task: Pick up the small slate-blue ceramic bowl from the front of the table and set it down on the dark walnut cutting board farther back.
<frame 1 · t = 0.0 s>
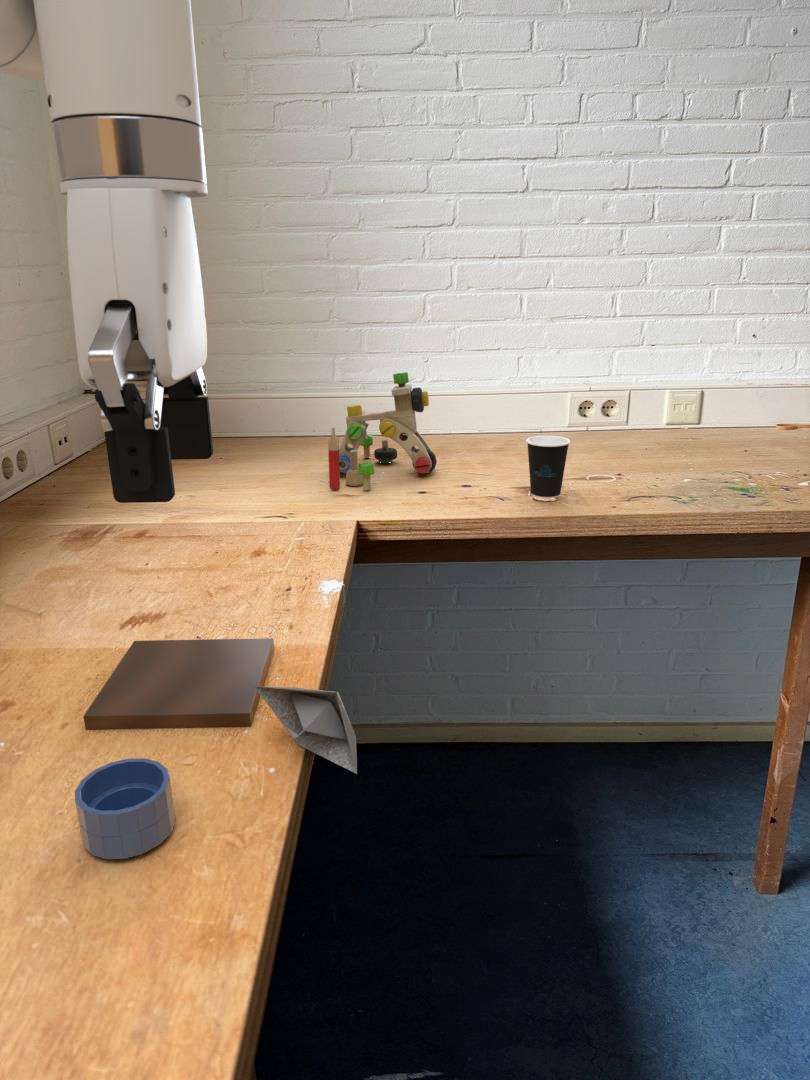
hand: (169, 477, 48), 30 cm above the table, tool pointing down, fingers open, 9 cm apart
dixie cup: (545, 499, 148), on the table
bowl: (130, 833, 63), on the table
paper boat: (309, 751, 74), on the table
toy construction set: (375, 476, 165), on the table
board: (188, 686, 85), on the table
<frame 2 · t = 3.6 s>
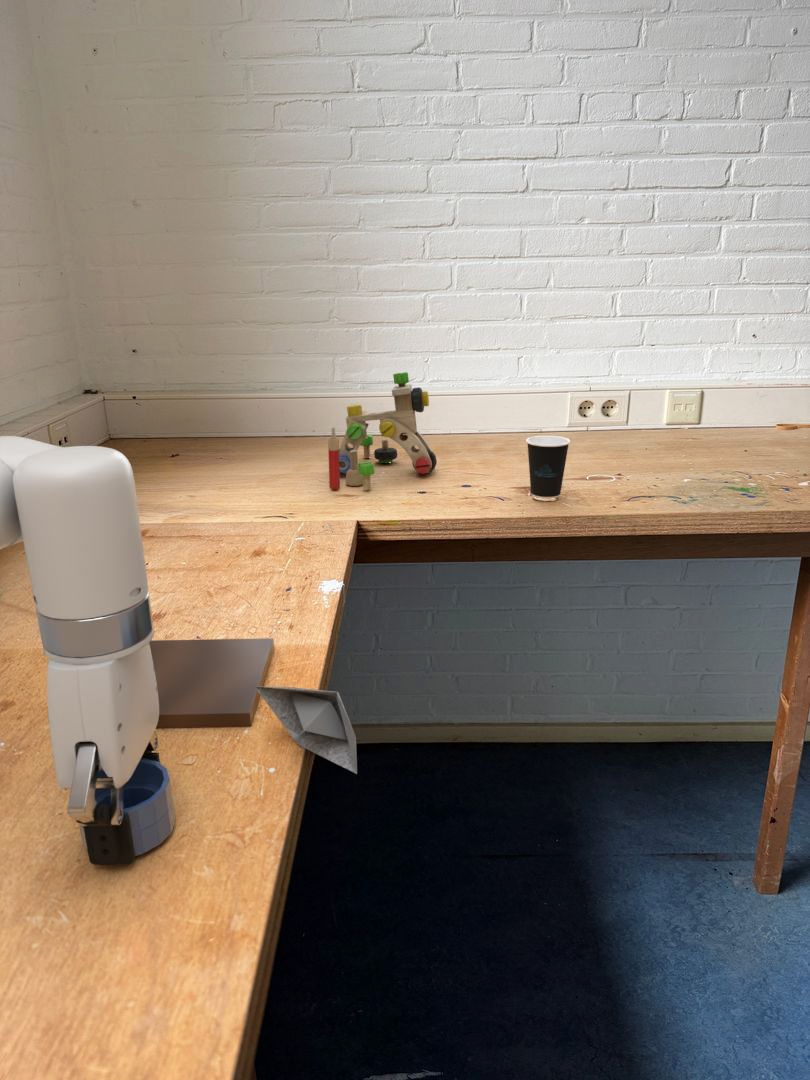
hand: (129, 825, 63), 1 cm above the table, tool pointing down, fingers closed on bowl, 7 cm apart
bowl: (130, 833, 63), on the table, touching gripper
everything else where it was.
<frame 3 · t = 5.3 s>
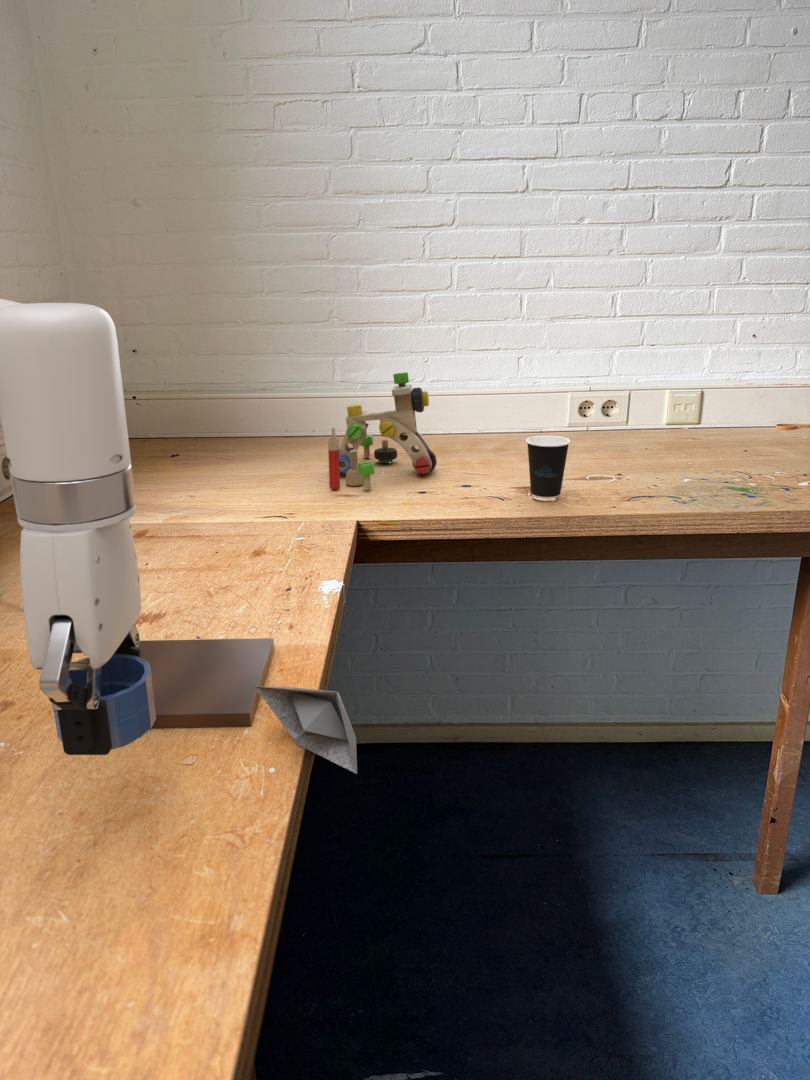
hand: (107, 720, 60), 10 cm above the table, tool pointing down, fingers closed on bowl, 7 cm apart
bowl: (108, 729, 60), point 9 cm above the table, touching gripper
everything else where it was.
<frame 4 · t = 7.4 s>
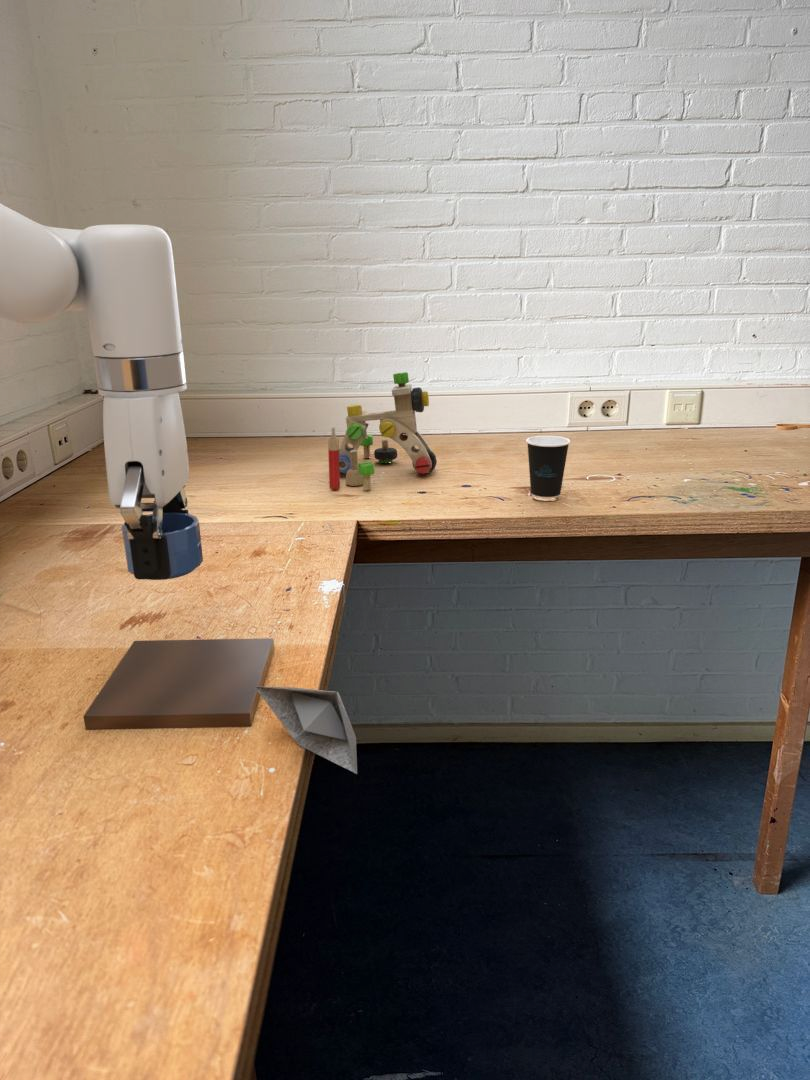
hand: (164, 561, 76), 16 cm above the table, tool pointing down, fingers closed on bowl, 7 cm apart
bowl: (166, 568, 77), point 15 cm above the table, touching gripper
everything else where it was.
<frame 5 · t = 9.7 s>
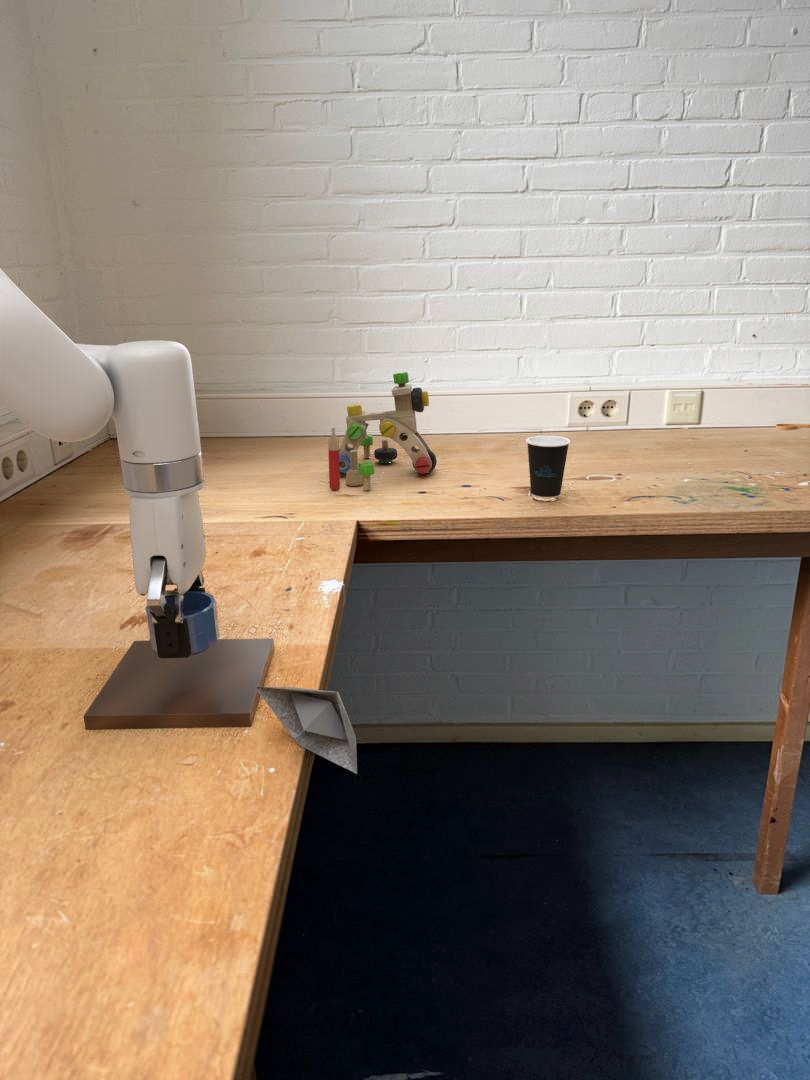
hand: (184, 637, 83), 6 cm above the table, tool pointing down, fingers closed on bowl, 7 cm apart
bowl: (185, 644, 83), point 5 cm above the table, touching gripper
everything else where it was.
when the fingers open (2 cm above the table, at t = 11.2 s): bowl stays where it is, resting on board.
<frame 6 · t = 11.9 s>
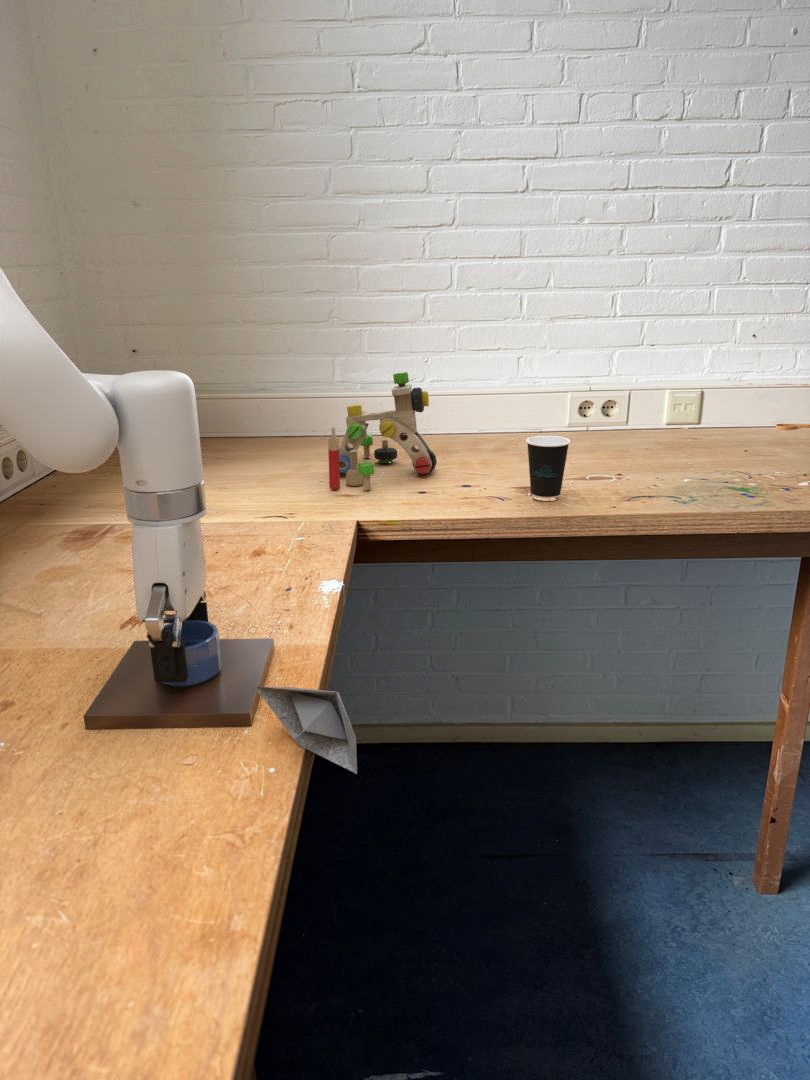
hand: (183, 657, 83), 3 cm above the table, tool pointing down, fingers open, 9 cm apart
bowl: (188, 673, 84), point 1 cm above the table, touching board
everything else where it was.
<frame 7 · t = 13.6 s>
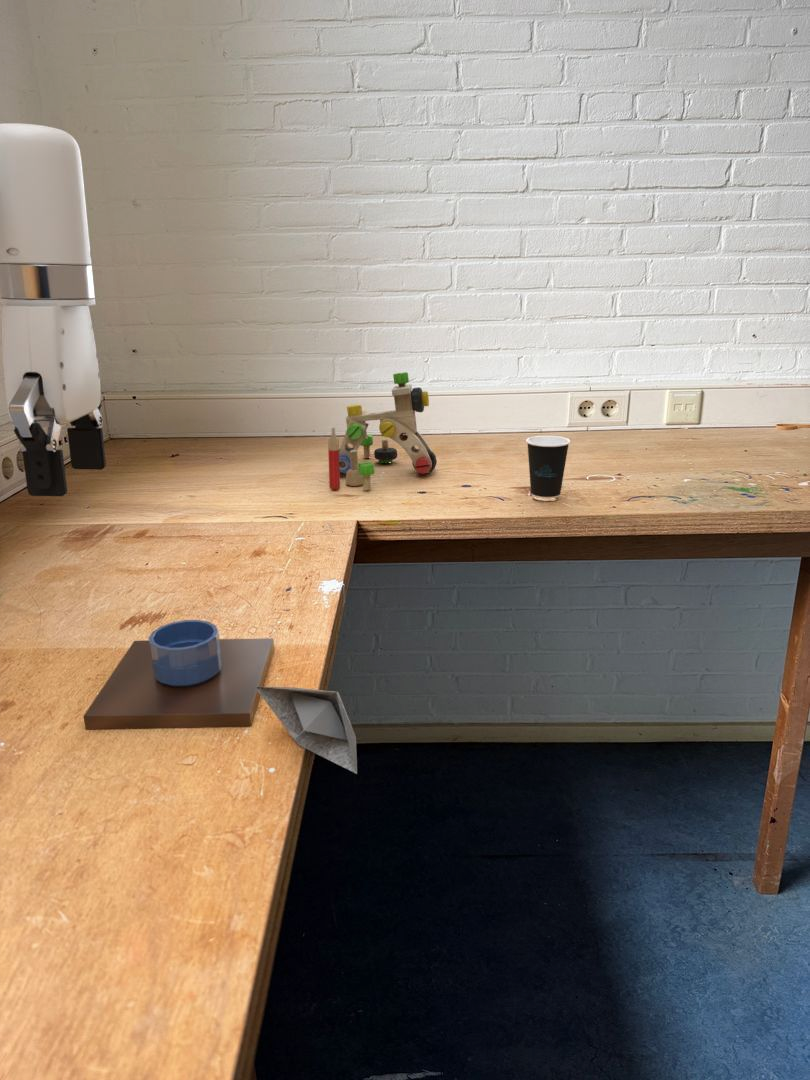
hand: (69, 481, 74), 24 cm above the table, tool pointing down, fingers open, 9 cm apart
nothing on the table moved.
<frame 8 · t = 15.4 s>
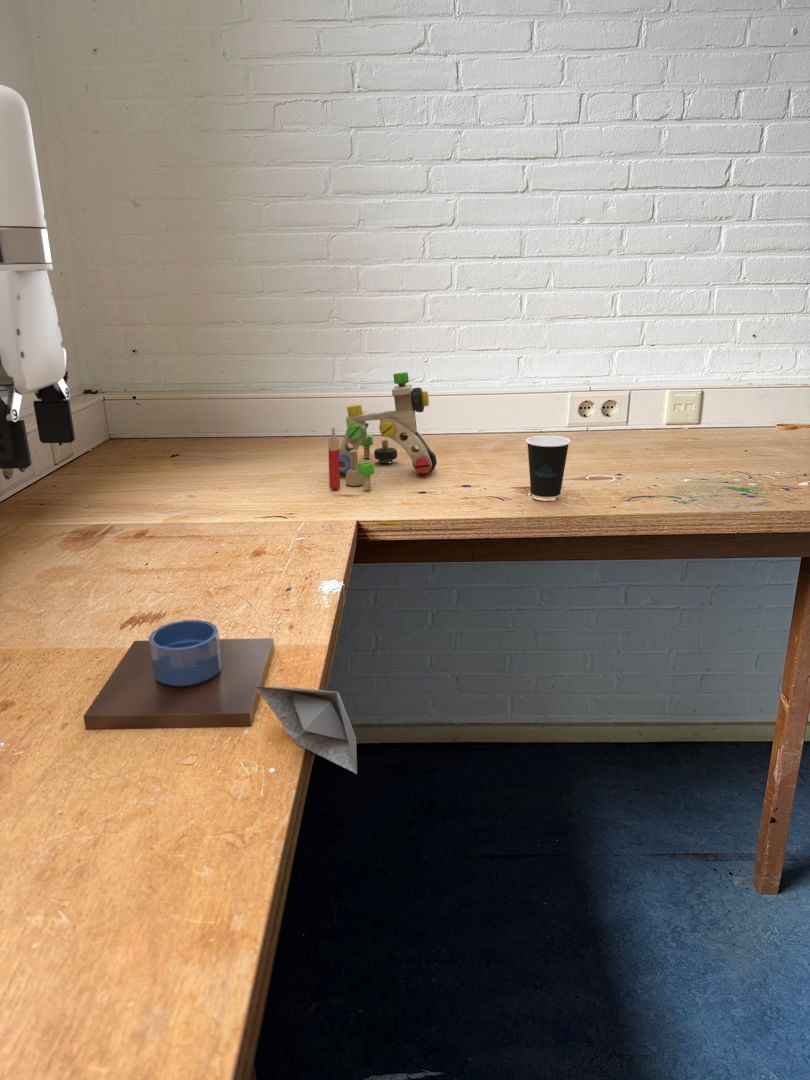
hand: (36, 454, 72), 26 cm above the table, tool pointing down, fingers open, 9 cm apart
nothing on the table moved.
at the end: bowl inside the target area on the board (0.1 cm from its centre), point 1.5 cm above the board's base; bowl tilted 0° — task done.
